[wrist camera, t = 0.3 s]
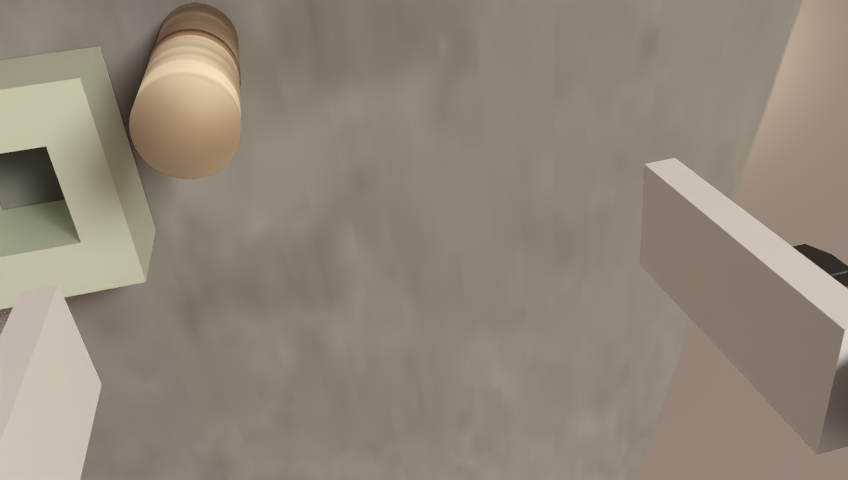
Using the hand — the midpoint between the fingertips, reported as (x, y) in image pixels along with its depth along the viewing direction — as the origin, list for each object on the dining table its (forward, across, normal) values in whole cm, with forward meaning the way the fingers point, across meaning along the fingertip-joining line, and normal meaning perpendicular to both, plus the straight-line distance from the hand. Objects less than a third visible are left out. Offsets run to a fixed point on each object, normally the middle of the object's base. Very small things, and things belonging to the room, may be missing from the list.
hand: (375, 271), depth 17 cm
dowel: (+28, -5, -1) cm, 28 cm away
